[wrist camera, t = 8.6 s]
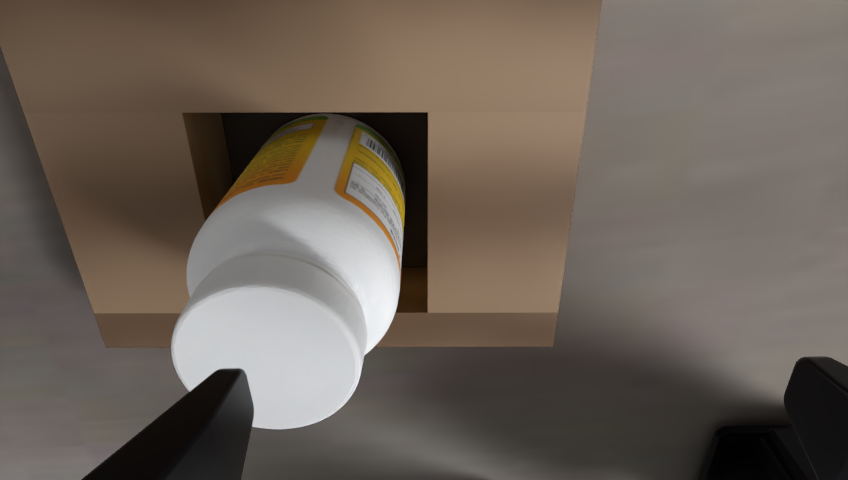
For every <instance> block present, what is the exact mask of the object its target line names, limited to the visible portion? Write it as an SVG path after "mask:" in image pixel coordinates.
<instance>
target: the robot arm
mask: <svg viewBox="0 0 848 480" xmlns="http://www.w3.org/2000/svg"><path fill="white" fill-rule="evenodd" d="M784 405H785V409H786V412H787V414H788V416H789V418H790V420H791V422H792V425H793V426H726V427H722V428H720V429H719V430H717V431H716V433H715V435H714V438H713V440H712V443H711V446H710V449H709V452H708V455H707V458H706V460H705V463H704V466H703V469H702V472H701V475H700V477H699V480H848V366H846V365H844V364H842V363H840V362H838V361H836V360H834V359H832V358H829V357H803V358H800V359H799V360H798V361H797V362H796V364H795V366H794V369H793V372H792V375H791V377H790V380H789V383H788V386H787V388H786V391H785V394H784ZM253 418H254V405H253V400H252V396H251V392H250V388H249V384H248V379H247V375H246V373H245V371H244V370H243V369H241V368H222V369H218V370H216V371H215V372H213V373H212V374H211V375H210V376H208V377H207V378H206V379H205V380H204V381H202V382H201V383H200V384H199V385H197V386H196V387H195V388H194V389H192V390H191V391H190V392H189V393H188V394H186V395H185V396H184V397H183V398H181V399H180V400H179V401H178V402H176V403H175V404H174V405H173V406H171V407H170V408H169V409H168V410H167V411H165V412H164V413H163V414H162V415H160V416H159V417H158V418H157V419H155V420H154V421H153V422H152V423H151V424H149V425H148V426H147V427H146V428H144V429H143V430H142V431H141V432H139V433H138V434H137V435H136V436H135V437H133V438H132V439H131V440H130V441H128V442H127V443H126V444H125V445H123V446H122V447H121V448H120V449H119V450H117V451H116V452H115V453H114V454H112V455H111V456H110V457H109V458H107V459H106V460H105V461H104V462H102V463H101V464H100V465H99V466H98V467H96V468H95V469H94V470H93V471H91V472H90V473H89V474H88V475H86V476H85V477H84V478H83V479H82V480H241V476H242V471H243V466H244V462H245V457H246V452H247V447H248V442H249V438H250V433H251V428H252V423H253Z"/></svg>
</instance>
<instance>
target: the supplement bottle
mask: <svg viewBox="0 0 848 480" xmlns="http://www.w3.org/2000/svg"><path fill="white" fill-rule="evenodd" d="M405 202H406V184H405V178H404V173H403V169H402V166H401V163H400V161H399V159H398V157H397V155H396V153H395V151H394V150H393V148H392V147H391V146H390V144H389V143H388V142H387V141H386V140H385V139H384V138H383V137H382V136H381V135H380V134H379V133H378V132H377V131H376V130H374V129H373V128H371V127H370V126H368V125H367V124H365V123H363V122H361V121H359V120H357V119H354V118H351V117H348V116H344V115H339V114H330V113H324V114H313V115H307V116H304V117H300V118H298V119H295V120H293V121H290V122H289V123H287V124H285V125H283V126H282V127H281V128H279V129H278V130H277V131H276V132H275V133H273V134H272V135H271V136H270V138H269V139H268V140H267V141H266V142H265V143H264V144H263V146H262V147H261V149H260V150H259V151H258V153H257V154H256V155H255V157H254V158H253V159H252V161H251V162H250V163H249V165H248V166H247V167H246V169H245V170H244V171H243V173H242V174H241V175H240V176H239V178H238V179H237V180H236V182H235V183H234V184H233V186H232V187H231V188H230V190H229V191H228V192H227V194H226V195H225V196H224V198H223V199H222V200H221V201H220V203H219V204H218V205H217V207H216V208H215V209H214V210H213V212H212V213H211V215H210V216H209V217H208V219H207V220H206V222H205V223H204V224H203V226H202V228H201V229H200V231H199V232H198V234H197V236H196V238H195V240H194V242H193V245H192V247H191V250H190V253H189V257H188V262H187V287H188V292H189V296H190V299H189V301H188V303H187V305H186V306H185V308H184V310H183V311H182V313H181V315H180V316H179V318H178V320H177V322H176V325H175V327H174V331H173V335H172V340H171V354H172V360H173V365H174V367H175V370H176V372H177V374H178V376H179V378H180V379H181V381H182V382H183V384H184V386H185V387H186V388H187V390H188V391H189V392H190V391H191V390H192V389H194V388H195V387H196V386H197V385H199V384H200V383H201V382H202V381H204V380H205V379H206V378H207V377H208V376H210V375H211V374H212V373H213V372H215V371H216V370H218V369H222V368H241V369H243V370H244V371H245V373H246V375H247V379H248V384H249V388H250V392H251V396H252V400H253V405H254V418H253V423H252V427H257V428H266V429H290V428H297V427H303V426H307V425H310V424H313V423H316V422H319V421H321V420H323V419H325V418H327V417H329V416H331V415H332V414H333V413H335V412H336V411H338V410H339V409H340V408H341V407H342V406H343V405H344V404H345V403H346V402H347V401H348V400H349V398H350V397H351V396H352V394H353V392H354V391H355V389H356V387H357V385H358V382H359V379H360V375H361V370H362V365H363V360H364V355H366V354H367V353H368V352H369V351H370V350H371V349H372V348H373V347H374V346H375V345H376V344H377V343H378V342H379V341H380V340H381V339H382V337H383V336H384V335H385V333H386V332H387V330H388V328H389V326H390V324H391V322H392V320H393V318H394V315H395V312H396V308H397V305H398V298H399V292H400V281H401V262H402V247H403V232H404V217H405Z"/></svg>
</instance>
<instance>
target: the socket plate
mask: <svg viewBox="0 0 848 480" xmlns="http://www.w3.org/2000/svg"><path fill="white" fill-rule="evenodd" d="M601 4H602V0H0V47H1V50H2V53H3V55H4V58H5V61H6V64H7V67H8V70H9V73H10V75H11V78H12V81H13V84H14V87H15V90H16V92H17V95H18V98H19V101H20V104H21V107H22V110H23V112H24V115H25V118H26V121H27V124H28V127H29V129H30V132H31V135H32V138H33V141H34V144H35V147H36V149H37V152H38V155H39V158H40V161H41V164H42V167H43V169H44V172H45V175H46V178H47V181H48V184H49V186H50V189H51V192H52V195H53V198H54V201H55V204H56V206H57V209H58V212H59V215H60V218H61V221H62V223H63V226H64V229H65V232H66V235H67V238H68V241H69V243H70V246H71V249H72V252H73V255H74V258H75V261H76V263H77V266H78V269H79V272H80V275H81V278H82V280H83V283H84V286H85V289H86V292H87V295H88V298H89V300H90V303H91V306H92V309H93V312H94V315H95V317H96V320H97V323H98V326H99V329H100V332H101V335H102V337H103V340H104V343H105V346H106V347H171V340H172V335H173V331H174V327H175V325H176V322H177V320H178V318H179V316H180V315H181V313H182V311H183V310H184V308H185V306H186V305H187V303H188V301H189V299H190V296H189V292H188V287H187V262H188V257H189V253H190V250H191V247H192V245H193V242H194V240H195V238H196V236H197V234H198V232H199V231H200V229H201V228H202V226H203V224H204V223H205V222H206V220H207V219H208V217H209V216H210V215H211V213H212V212H213V210H214V209H215V208H216V207H217V205H218V204H219V203H220V201H221V200H222V199H223V198H224V196H225V195H226V194H227V192H228V191H229V190H230V188H231V187H232V186H233V184H234V183H233V178H232V172H231V166H230V161H229V155H228V150H227V144H226V139H225V133H224V127H223V122H222V116H221V113H268V112H427V267H401V281H400V292H399V298H398V305H397V308H396V312H395V315H394V318H393V320H392V322H391V324H390V326H389V328H388V330H387V332H386V333H385V335H384V336H383V337H382V339H381V340H380V341H379V342H378V343H377V344H376V345H375V346H374V347H553V346H554V339H555V332H556V325H557V318H558V311H559V304H560V296H561V289H562V282H563V275H564V268H565V261H566V254H567V246H568V239H569V232H570V225H571V218H572V211H573V204H574V197H575V189H576V182H577V175H578V168H579V161H580V154H581V147H582V139H583V132H584V125H585V118H586V111H587V104H588V97H589V90H590V82H591V75H592V68H593V61H594V54H595V47H596V40H597V32H598V25H599V18H600V11H601Z"/></svg>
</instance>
